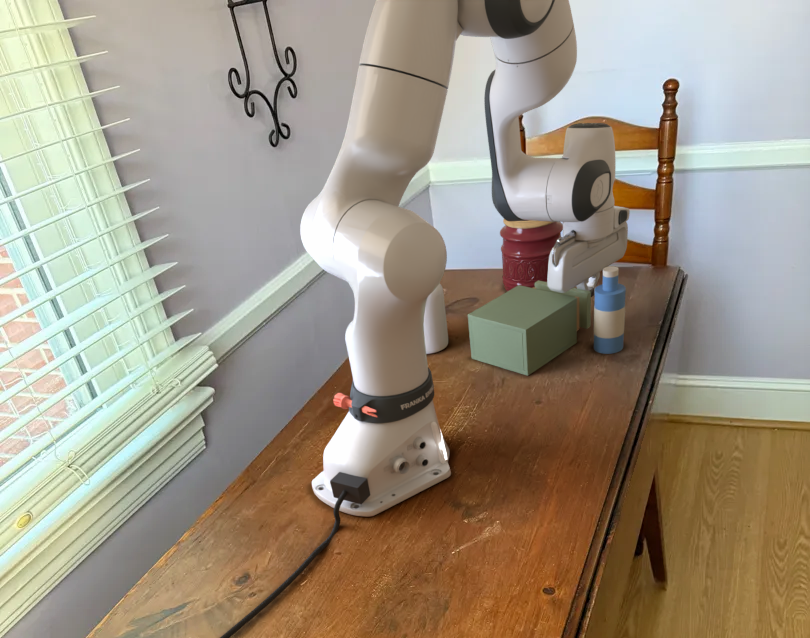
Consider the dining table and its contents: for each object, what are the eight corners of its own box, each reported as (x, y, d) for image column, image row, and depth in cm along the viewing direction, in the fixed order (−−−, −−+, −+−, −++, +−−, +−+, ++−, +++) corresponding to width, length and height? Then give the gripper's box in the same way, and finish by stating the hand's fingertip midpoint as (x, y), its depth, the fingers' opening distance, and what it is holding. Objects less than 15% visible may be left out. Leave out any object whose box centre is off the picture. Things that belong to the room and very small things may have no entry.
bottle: (612, 356, 140) (615, 277, 131) (587, 349, 143) (588, 271, 134) (629, 344, 142) (633, 265, 133) (604, 338, 146) (606, 261, 136)
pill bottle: (456, 339, 154) (448, 263, 144) (436, 357, 149) (426, 280, 139) (422, 334, 157) (412, 260, 148) (400, 352, 152) (389, 277, 143)
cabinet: (520, 328, 154) (518, 284, 148) (576, 342, 146) (577, 297, 140) (471, 358, 146) (467, 314, 141) (527, 375, 138) (525, 329, 133)
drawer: (551, 306, 157) (551, 272, 153) (603, 318, 150) (603, 283, 146) (495, 341, 149) (493, 306, 144) (546, 355, 141) (546, 319, 137)
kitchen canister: (521, 270, 176) (517, 188, 165) (574, 276, 170) (574, 191, 159) (491, 293, 169) (486, 208, 158) (546, 300, 162) (544, 212, 151)
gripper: (567, 244, 132) (568, 322, 140) (635, 206, 142) (631, 281, 150) (537, 239, 135) (539, 315, 144) (605, 202, 145) (603, 275, 154)
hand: (587, 297), depth 147 cm, fingers closed
